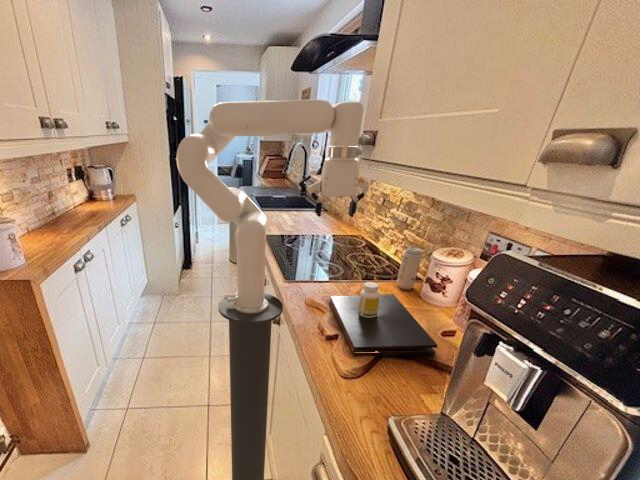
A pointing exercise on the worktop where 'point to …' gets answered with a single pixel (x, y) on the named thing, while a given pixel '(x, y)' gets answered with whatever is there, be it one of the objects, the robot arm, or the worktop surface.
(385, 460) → the worktop surface
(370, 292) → the supplement bottle
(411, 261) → the energy drink can
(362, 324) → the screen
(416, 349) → the laptop
